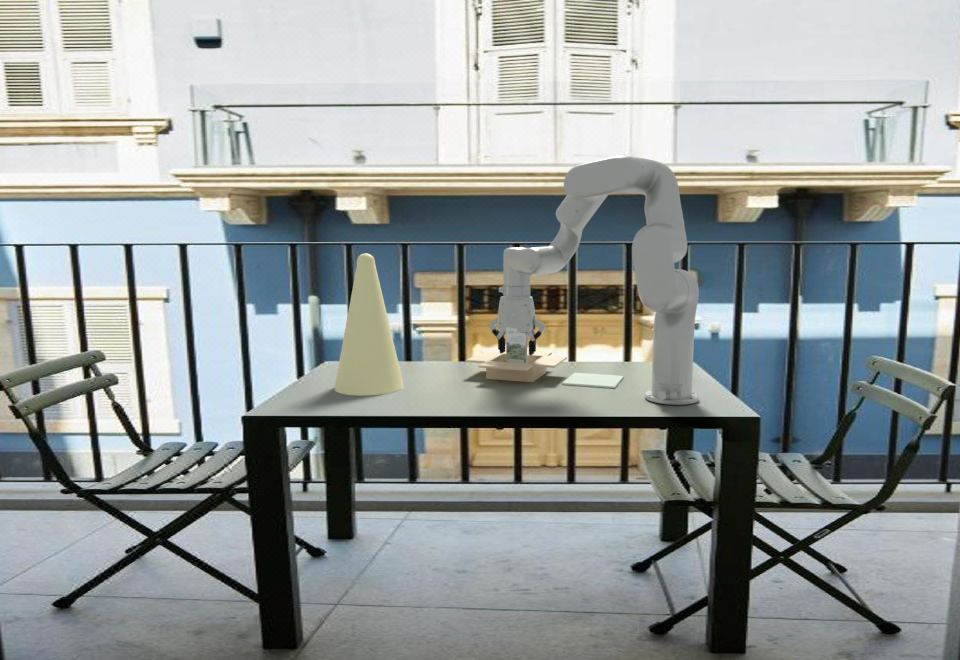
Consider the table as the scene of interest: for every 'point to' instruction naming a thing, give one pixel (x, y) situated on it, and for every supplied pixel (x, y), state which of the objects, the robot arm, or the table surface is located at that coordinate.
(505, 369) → the kraft carton
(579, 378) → the sage rubber mat
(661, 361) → the robot arm
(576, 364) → the table surface
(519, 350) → the syrup box
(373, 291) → the cone light
